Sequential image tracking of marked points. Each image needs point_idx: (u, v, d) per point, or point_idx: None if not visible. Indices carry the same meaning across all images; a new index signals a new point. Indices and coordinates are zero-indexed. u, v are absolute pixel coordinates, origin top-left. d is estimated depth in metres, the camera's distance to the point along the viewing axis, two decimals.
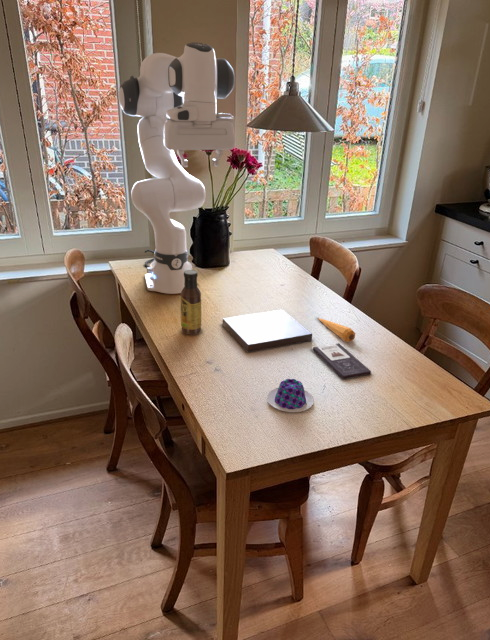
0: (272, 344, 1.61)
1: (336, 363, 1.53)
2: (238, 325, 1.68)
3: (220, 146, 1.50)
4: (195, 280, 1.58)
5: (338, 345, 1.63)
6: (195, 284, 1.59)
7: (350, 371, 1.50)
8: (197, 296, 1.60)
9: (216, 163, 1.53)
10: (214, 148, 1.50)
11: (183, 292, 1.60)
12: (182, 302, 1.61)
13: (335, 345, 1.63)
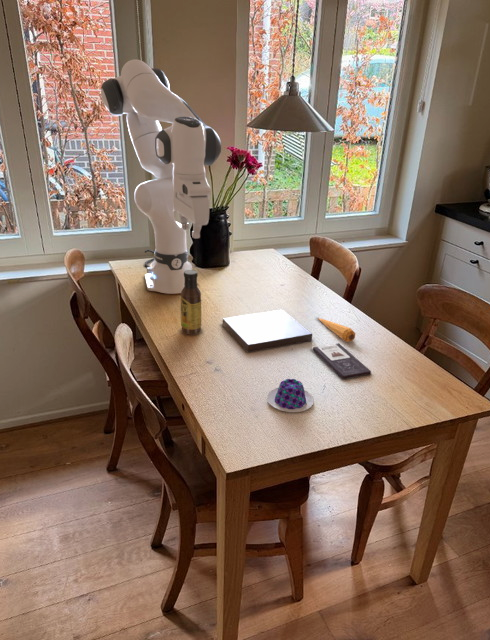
0: (272, 344, 1.61)
1: (336, 363, 1.53)
2: (238, 325, 1.68)
3: None
4: (195, 280, 1.58)
5: (338, 345, 1.63)
6: (195, 284, 1.59)
7: (350, 371, 1.50)
8: (197, 296, 1.60)
9: None
10: None
11: (183, 292, 1.60)
12: (182, 302, 1.61)
13: (335, 345, 1.63)
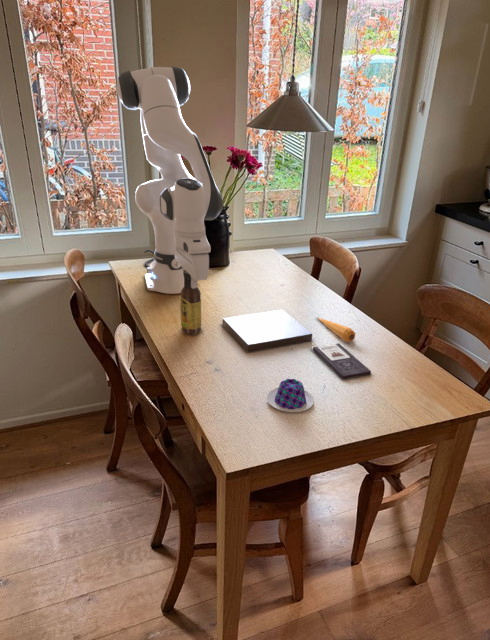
0: (272, 344, 1.61)
1: (336, 363, 1.53)
2: (238, 325, 1.68)
3: None
4: None
5: (338, 345, 1.63)
6: None
7: (350, 371, 1.50)
8: (196, 295, 1.60)
9: None
10: None
11: (183, 291, 1.60)
12: (182, 302, 1.61)
13: (335, 345, 1.63)
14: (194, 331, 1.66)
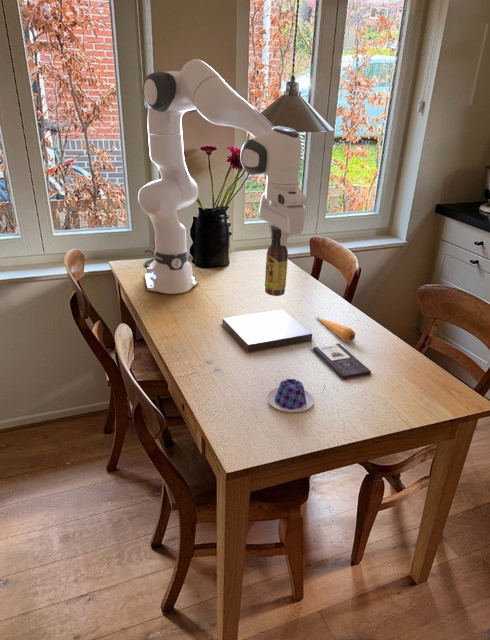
0: (272, 344, 1.61)
1: (336, 363, 1.53)
2: (238, 325, 1.68)
3: None
4: None
5: (338, 345, 1.63)
6: None
7: (350, 371, 1.50)
8: (284, 253, 1.52)
9: None
10: None
11: (270, 249, 1.52)
12: (269, 260, 1.54)
13: (335, 345, 1.63)
14: (279, 292, 1.58)
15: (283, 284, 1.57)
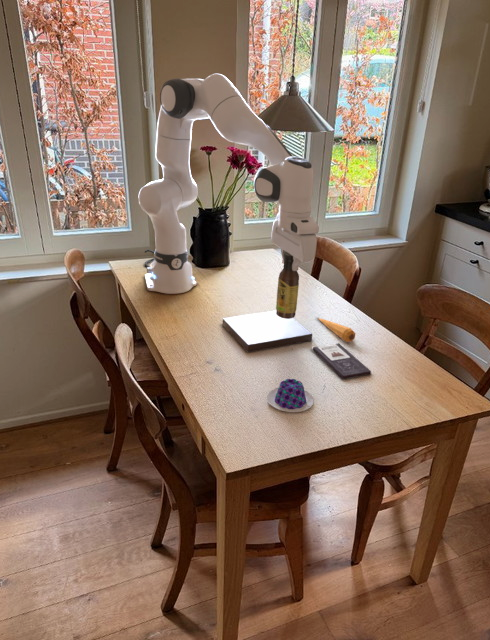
0: (272, 344, 1.61)
1: (336, 363, 1.53)
2: (238, 325, 1.68)
3: None
4: None
5: (338, 345, 1.63)
6: None
7: (350, 371, 1.50)
8: (296, 278, 1.56)
9: None
10: None
11: (282, 274, 1.56)
12: (280, 285, 1.57)
13: (335, 345, 1.63)
14: (290, 315, 1.62)
15: (294, 307, 1.61)
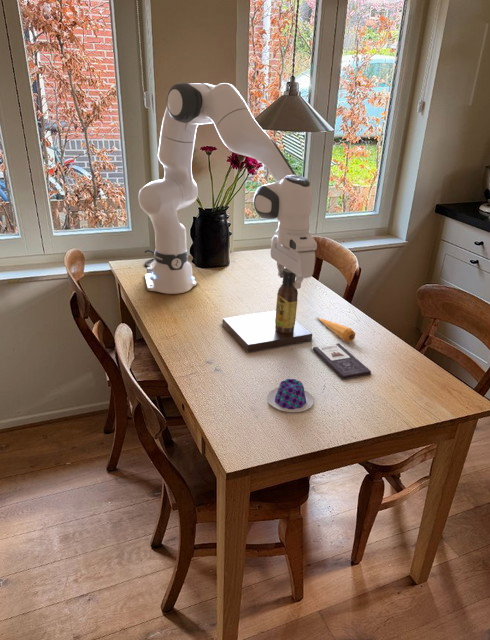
0: (272, 344, 1.61)
1: (336, 363, 1.53)
2: (238, 325, 1.68)
3: None
4: (294, 278, 1.57)
5: (338, 345, 1.63)
6: None
7: (350, 371, 1.50)
8: (295, 294, 1.59)
9: None
10: None
11: (281, 290, 1.58)
12: (279, 300, 1.60)
13: (335, 345, 1.63)
14: (289, 330, 1.64)
15: (293, 322, 1.64)
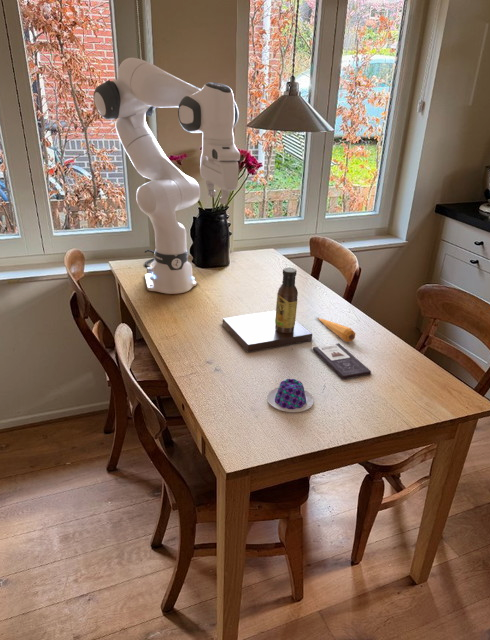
0: (272, 344, 1.61)
1: (336, 363, 1.53)
2: (238, 325, 1.68)
3: None
4: (294, 278, 1.57)
5: (338, 345, 1.63)
6: (294, 282, 1.58)
7: (350, 371, 1.50)
8: (295, 294, 1.59)
9: None
10: None
11: (281, 290, 1.58)
12: (279, 300, 1.60)
13: (335, 345, 1.63)
14: (289, 330, 1.64)
15: (293, 322, 1.64)
